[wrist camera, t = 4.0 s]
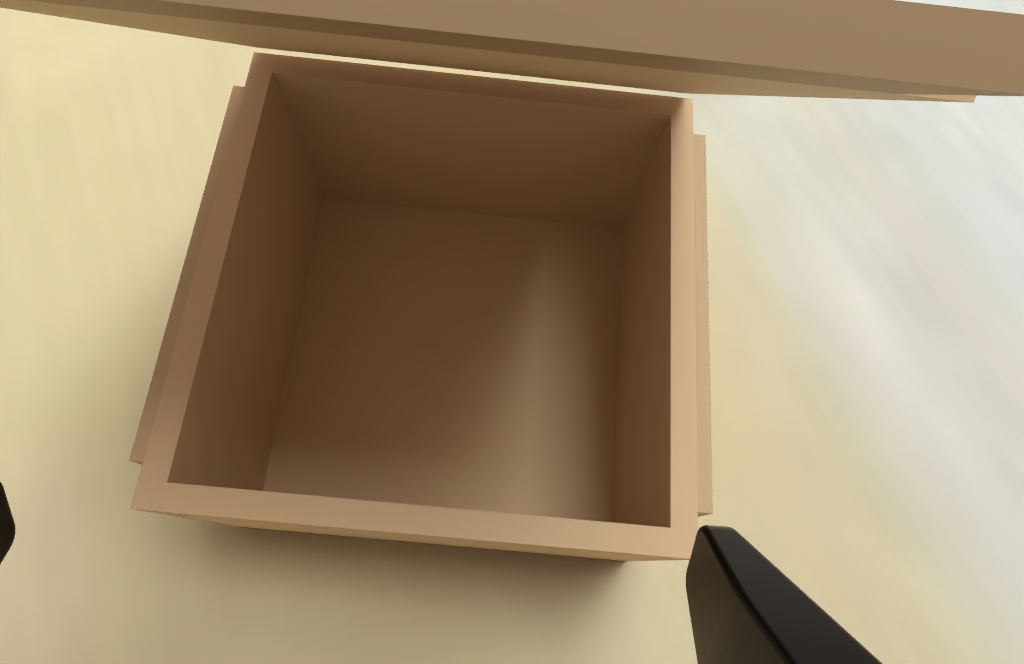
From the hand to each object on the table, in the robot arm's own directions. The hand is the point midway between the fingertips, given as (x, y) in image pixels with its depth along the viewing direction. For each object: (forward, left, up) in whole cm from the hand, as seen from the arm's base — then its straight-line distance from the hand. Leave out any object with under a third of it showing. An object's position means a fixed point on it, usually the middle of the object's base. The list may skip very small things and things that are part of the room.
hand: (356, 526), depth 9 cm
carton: (+6, 0, -13) cm, 14 cm away
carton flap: (+8, 0, 0) cm, 8 cm away
